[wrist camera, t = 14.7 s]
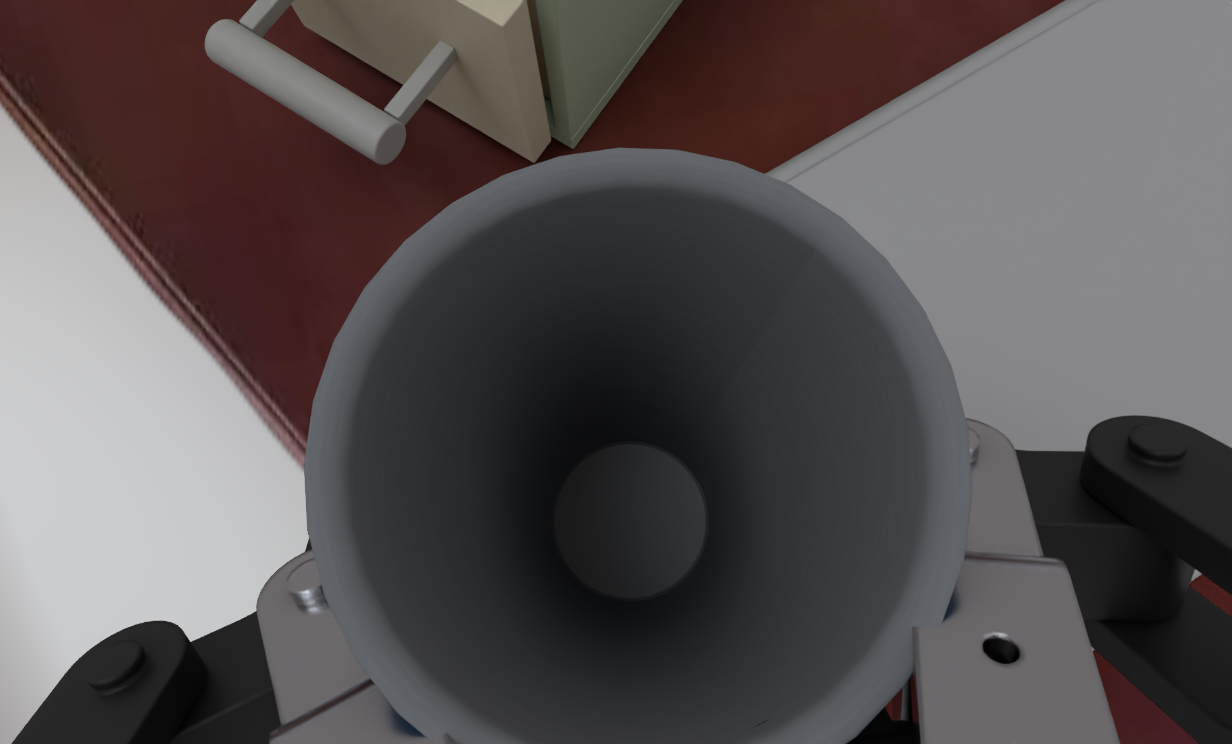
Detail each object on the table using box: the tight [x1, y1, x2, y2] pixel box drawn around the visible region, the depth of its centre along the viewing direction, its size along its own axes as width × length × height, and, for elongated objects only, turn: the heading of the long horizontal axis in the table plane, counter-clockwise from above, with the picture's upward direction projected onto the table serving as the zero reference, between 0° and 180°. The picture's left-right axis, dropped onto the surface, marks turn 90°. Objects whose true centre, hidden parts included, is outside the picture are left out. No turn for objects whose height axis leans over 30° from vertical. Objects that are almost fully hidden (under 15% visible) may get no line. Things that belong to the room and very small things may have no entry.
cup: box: [304, 148, 973, 744], centre depth 12 cm, size 5×5×12 cm
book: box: [765, 0, 1232, 651], centre depth 27 cm, size 18×4×24 cm
